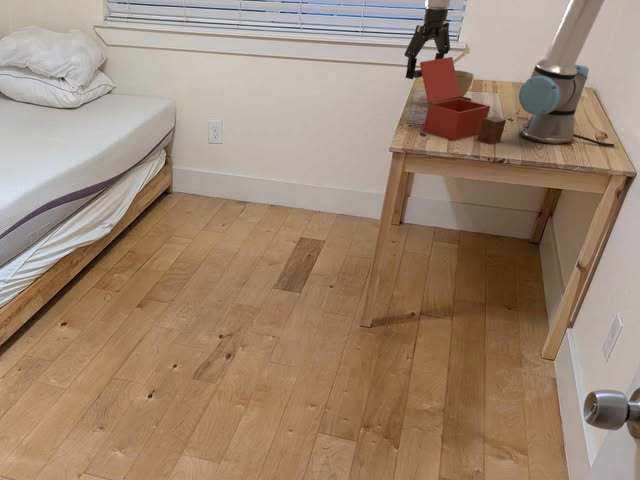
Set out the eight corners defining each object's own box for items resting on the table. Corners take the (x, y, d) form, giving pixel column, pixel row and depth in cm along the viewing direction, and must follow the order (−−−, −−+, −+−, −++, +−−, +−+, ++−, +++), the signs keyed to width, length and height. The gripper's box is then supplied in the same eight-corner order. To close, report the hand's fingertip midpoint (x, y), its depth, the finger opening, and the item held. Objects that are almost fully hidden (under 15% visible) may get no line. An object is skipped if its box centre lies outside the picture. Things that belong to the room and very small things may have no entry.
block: (500, 141, 223) (506, 119, 219) (490, 144, 221) (496, 122, 217) (486, 137, 227) (492, 116, 223) (477, 140, 225) (483, 118, 221)
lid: (452, 56, 233) (432, 66, 240) (421, 61, 226) (401, 71, 233) (460, 96, 235) (440, 104, 242) (429, 102, 228) (410, 110, 235)
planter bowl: (469, 101, 266) (476, 71, 260) (463, 110, 254) (471, 80, 248) (426, 96, 272) (433, 67, 266) (419, 105, 261) (425, 75, 254)
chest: (483, 132, 231) (490, 106, 226) (453, 140, 225) (460, 112, 220) (452, 124, 240) (458, 98, 235) (422, 130, 233) (428, 104, 228)
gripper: (451, 3, 232) (437, 69, 244) (401, 9, 221) (389, 78, 233) (470, 6, 227) (455, 73, 239) (419, 12, 216) (406, 82, 228)
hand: (422, 76), depth 236 cm, fingers open, 13 cm apart
